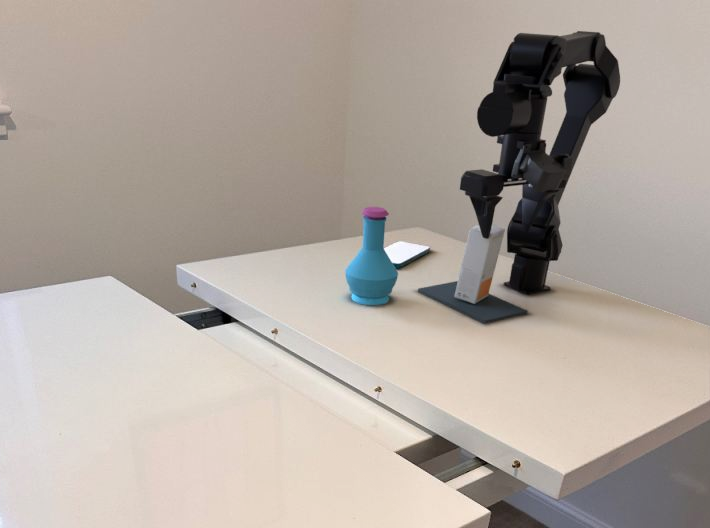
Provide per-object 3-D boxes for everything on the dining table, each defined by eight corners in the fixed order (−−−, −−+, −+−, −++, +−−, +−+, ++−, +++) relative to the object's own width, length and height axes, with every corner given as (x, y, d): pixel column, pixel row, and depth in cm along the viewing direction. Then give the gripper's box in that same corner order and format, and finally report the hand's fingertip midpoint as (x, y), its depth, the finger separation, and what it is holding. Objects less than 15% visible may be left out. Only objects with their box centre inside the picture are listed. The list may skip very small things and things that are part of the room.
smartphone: (398, 245, 156) (363, 261, 144) (398, 240, 155) (364, 257, 144) (431, 251, 153) (399, 269, 141) (432, 247, 152) (399, 264, 141)
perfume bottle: (376, 311, 122) (381, 219, 113) (333, 298, 126) (336, 208, 118) (406, 298, 128) (413, 209, 119) (364, 286, 133) (369, 200, 124)
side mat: (458, 283, 136) (459, 280, 136) (527, 313, 124) (527, 310, 124) (417, 291, 131) (418, 288, 131) (484, 324, 120) (485, 320, 119)
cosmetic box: (475, 305, 125) (492, 234, 118) (453, 297, 126) (468, 227, 119) (489, 296, 129) (506, 228, 122) (467, 289, 131) (483, 221, 123)
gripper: (516, 142, 101) (498, 254, 111) (603, 136, 110) (580, 240, 119) (464, 130, 109) (451, 236, 118) (549, 125, 118) (531, 224, 127)
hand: (505, 235), depth 120 cm, fingers open, 9 cm apart
